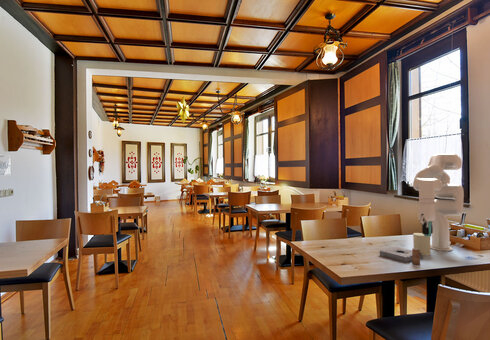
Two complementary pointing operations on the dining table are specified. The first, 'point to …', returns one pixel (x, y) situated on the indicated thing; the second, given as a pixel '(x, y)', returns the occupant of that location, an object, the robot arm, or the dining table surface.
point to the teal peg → (429, 229)
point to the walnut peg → (416, 256)
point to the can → (422, 243)
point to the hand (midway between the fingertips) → (427, 233)
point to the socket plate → (398, 254)
